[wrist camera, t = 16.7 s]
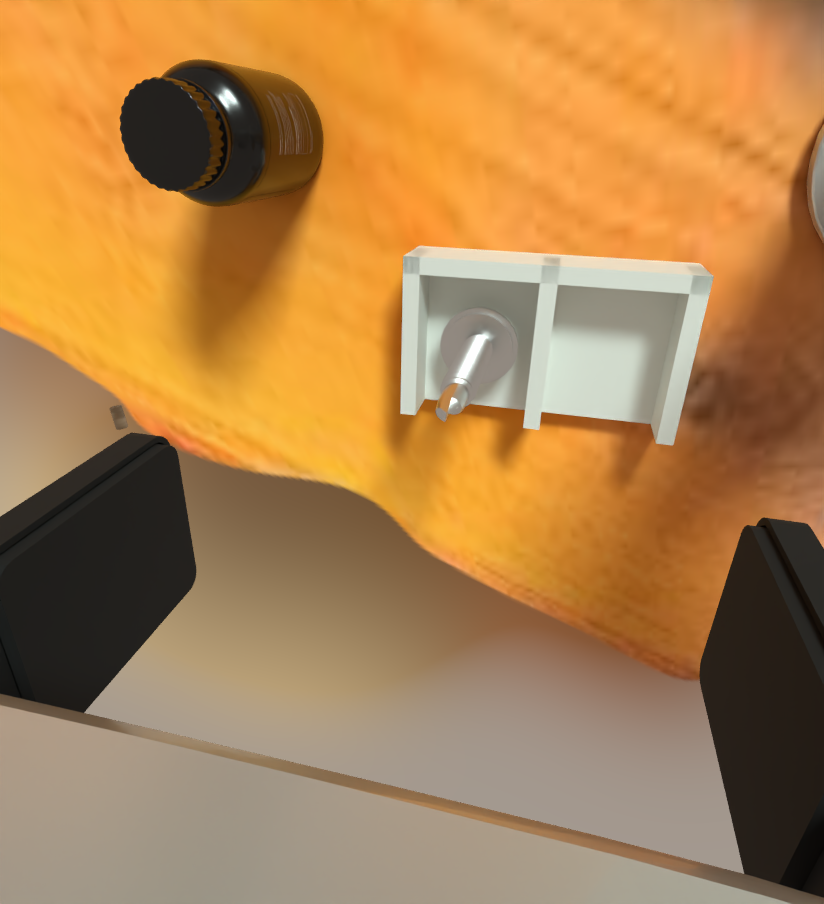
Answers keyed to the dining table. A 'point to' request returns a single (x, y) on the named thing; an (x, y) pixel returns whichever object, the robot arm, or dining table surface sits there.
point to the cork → (118, 417)
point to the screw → (474, 356)
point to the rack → (561, 331)
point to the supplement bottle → (222, 133)
